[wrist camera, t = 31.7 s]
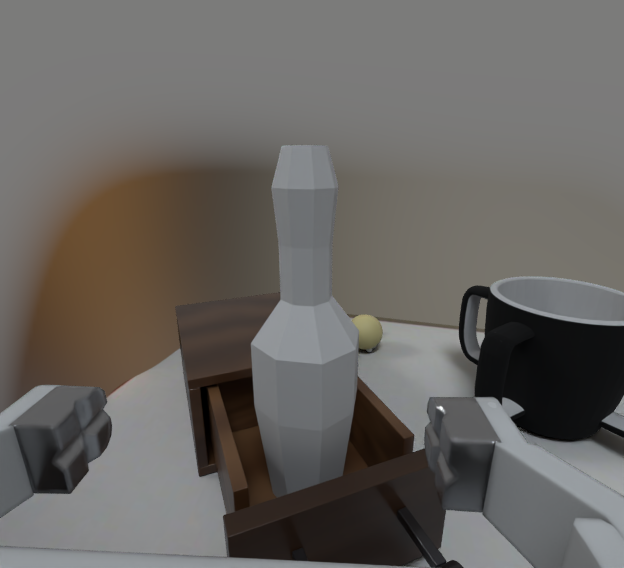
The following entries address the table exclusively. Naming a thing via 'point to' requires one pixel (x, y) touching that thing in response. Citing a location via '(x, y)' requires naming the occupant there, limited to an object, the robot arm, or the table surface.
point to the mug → (549, 353)
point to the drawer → (327, 491)
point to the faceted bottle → (305, 334)
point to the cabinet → (217, 355)
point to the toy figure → (368, 331)
